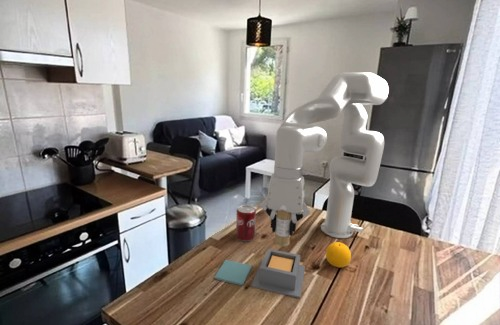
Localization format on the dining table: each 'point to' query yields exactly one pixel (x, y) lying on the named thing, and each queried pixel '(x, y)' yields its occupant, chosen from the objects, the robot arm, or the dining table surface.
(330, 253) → the orange citrus fruit
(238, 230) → the soda can
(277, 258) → the button
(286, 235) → the sprinkles bottle
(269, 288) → the frame
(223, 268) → the teal mat
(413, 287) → the dining table surface
